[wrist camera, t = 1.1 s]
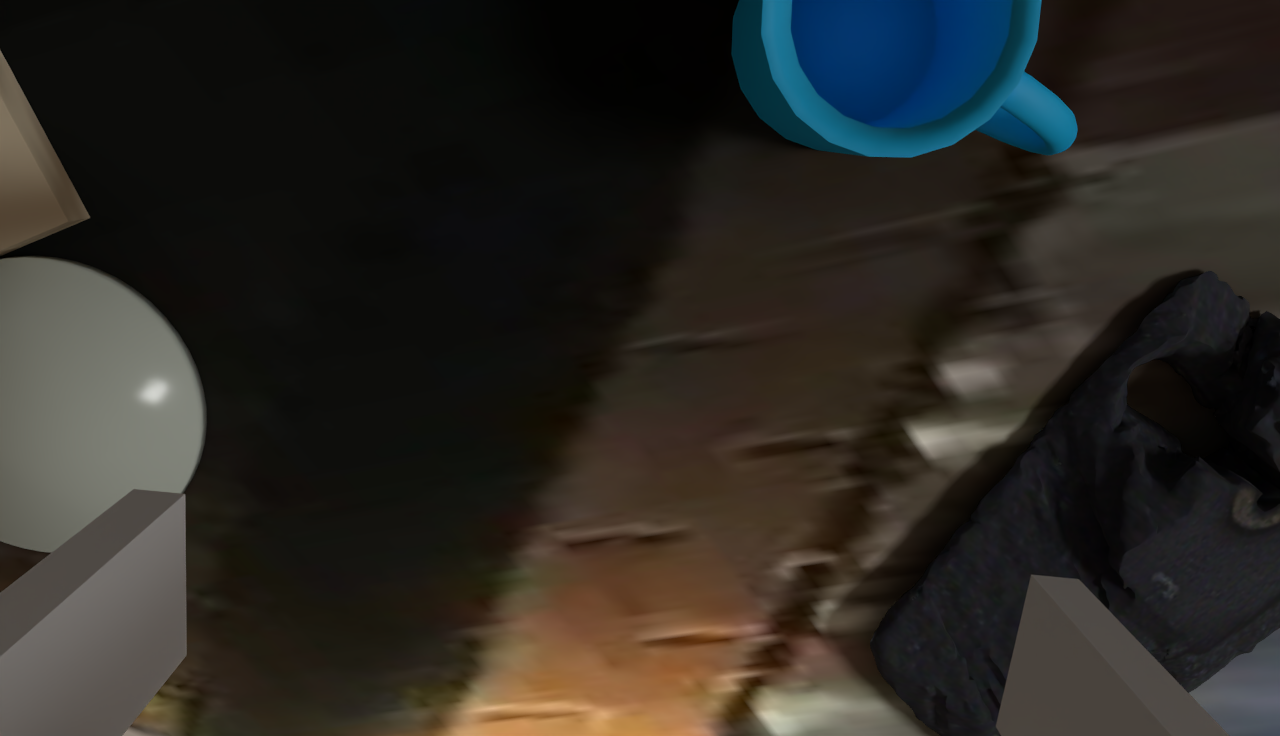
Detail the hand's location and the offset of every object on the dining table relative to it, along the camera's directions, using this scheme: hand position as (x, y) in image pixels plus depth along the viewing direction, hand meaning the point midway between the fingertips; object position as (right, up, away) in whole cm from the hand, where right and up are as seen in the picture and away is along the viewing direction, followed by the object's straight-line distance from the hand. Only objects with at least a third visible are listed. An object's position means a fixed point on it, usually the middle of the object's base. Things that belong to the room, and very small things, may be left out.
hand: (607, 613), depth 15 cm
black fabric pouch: (+21, -4, +27) cm, 34 cm away
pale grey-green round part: (-23, +2, +24) cm, 33 cm away
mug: (+10, +15, +22) cm, 28 cm away
